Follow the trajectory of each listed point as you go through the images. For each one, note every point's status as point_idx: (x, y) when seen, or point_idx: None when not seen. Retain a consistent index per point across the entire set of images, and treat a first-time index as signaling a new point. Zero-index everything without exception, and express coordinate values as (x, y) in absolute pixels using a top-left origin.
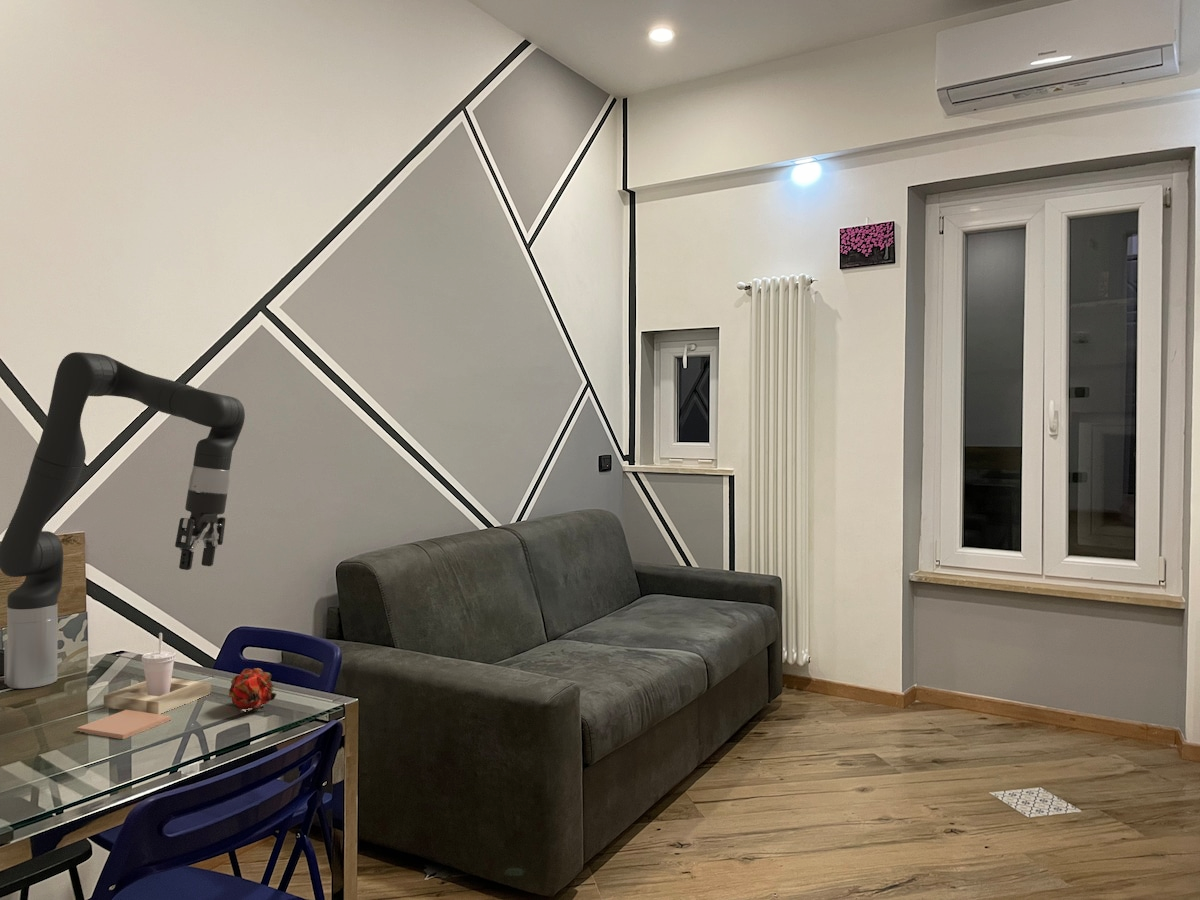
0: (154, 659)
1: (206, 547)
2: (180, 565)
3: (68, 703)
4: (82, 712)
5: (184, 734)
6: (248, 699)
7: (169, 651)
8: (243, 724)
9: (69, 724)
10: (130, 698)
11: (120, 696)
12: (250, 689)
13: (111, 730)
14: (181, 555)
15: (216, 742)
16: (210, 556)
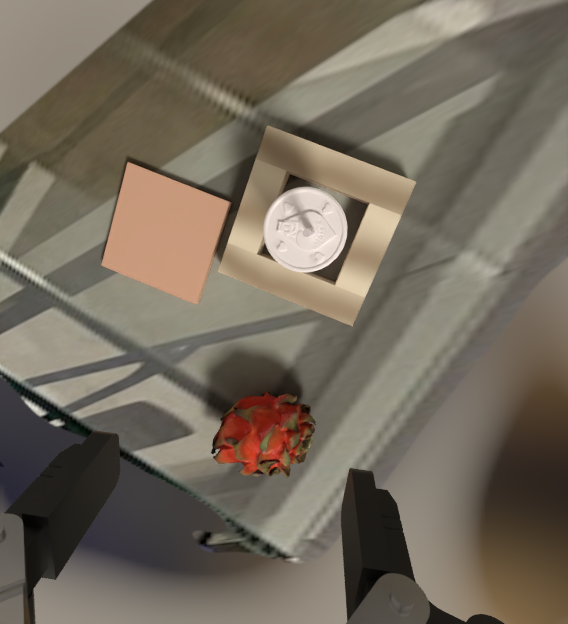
0: (265, 236)
1: (366, 587)
2: (69, 451)
3: (298, 31)
4: (238, 104)
5: (135, 352)
6: (214, 440)
7: (339, 244)
8: (185, 427)
9: (168, 122)
10: (242, 200)
11: (255, 171)
12: (223, 448)
13: (118, 234)
14: (22, 497)
15: (107, 411)
16: (347, 557)
